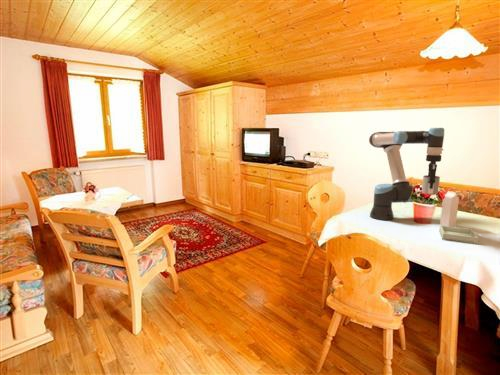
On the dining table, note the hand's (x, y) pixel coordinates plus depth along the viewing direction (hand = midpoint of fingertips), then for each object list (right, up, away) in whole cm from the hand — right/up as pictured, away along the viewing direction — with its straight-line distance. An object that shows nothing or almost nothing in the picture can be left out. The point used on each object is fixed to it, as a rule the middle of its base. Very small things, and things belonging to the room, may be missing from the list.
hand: (429, 192), depth 176 cm
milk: (+19, -22, +12) cm, 31 cm away
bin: (+10, -25, -9) cm, 29 cm away
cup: (0, -1, 0) cm, 1 cm away
